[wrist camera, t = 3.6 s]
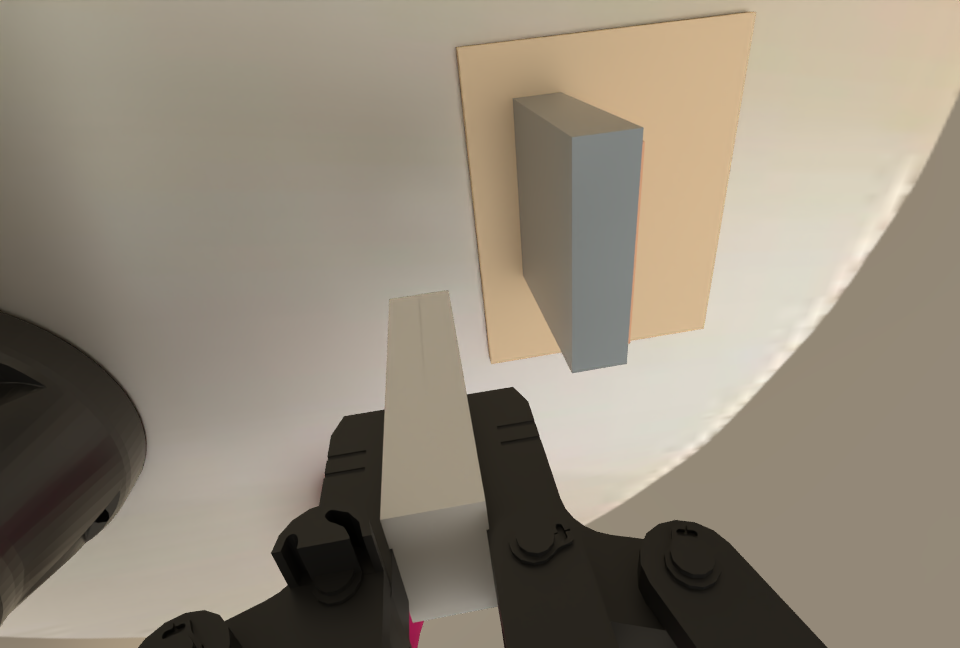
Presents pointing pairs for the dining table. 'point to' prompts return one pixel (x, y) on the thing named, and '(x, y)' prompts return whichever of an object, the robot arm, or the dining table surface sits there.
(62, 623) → the dining table surface
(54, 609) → the dining table surface
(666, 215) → the mat
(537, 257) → the tile
